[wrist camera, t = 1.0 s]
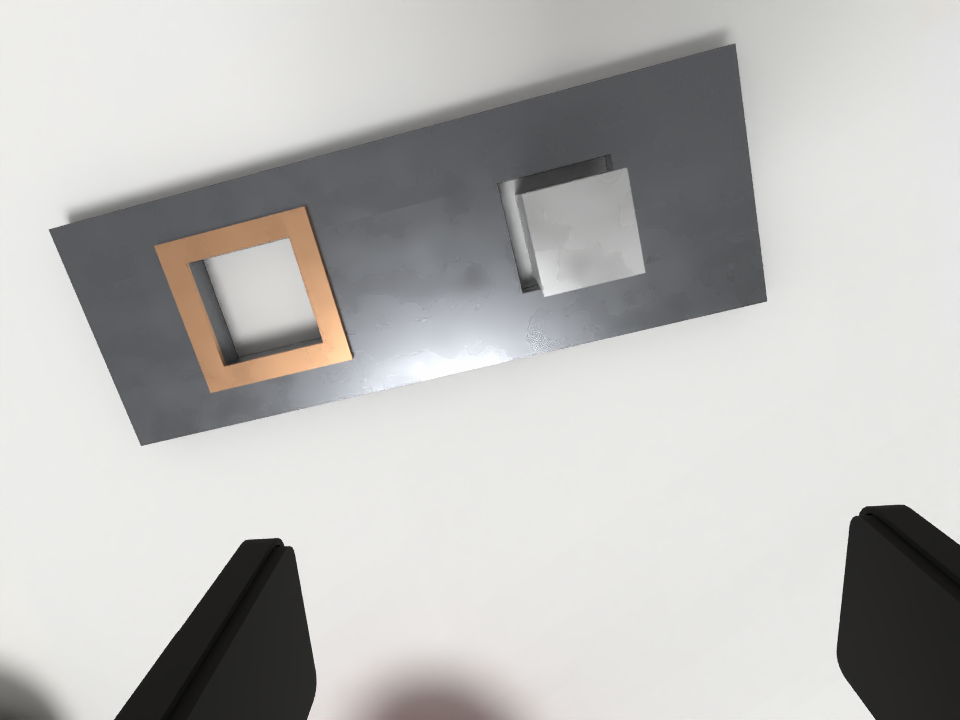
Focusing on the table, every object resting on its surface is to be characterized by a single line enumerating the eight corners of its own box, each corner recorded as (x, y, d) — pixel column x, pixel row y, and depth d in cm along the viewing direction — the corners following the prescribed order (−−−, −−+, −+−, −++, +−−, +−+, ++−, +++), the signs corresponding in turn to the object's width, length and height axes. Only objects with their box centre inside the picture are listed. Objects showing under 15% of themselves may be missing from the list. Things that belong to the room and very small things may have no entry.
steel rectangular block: (592, 175, 30) (626, 167, 22) (607, 253, 31) (645, 272, 23) (514, 194, 30) (521, 194, 22) (532, 271, 31) (544, 297, 23)
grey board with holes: (723, 51, 28) (737, 41, 26) (754, 296, 31) (769, 302, 29) (69, 227, 31) (44, 230, 29) (156, 435, 34) (138, 448, 32)
